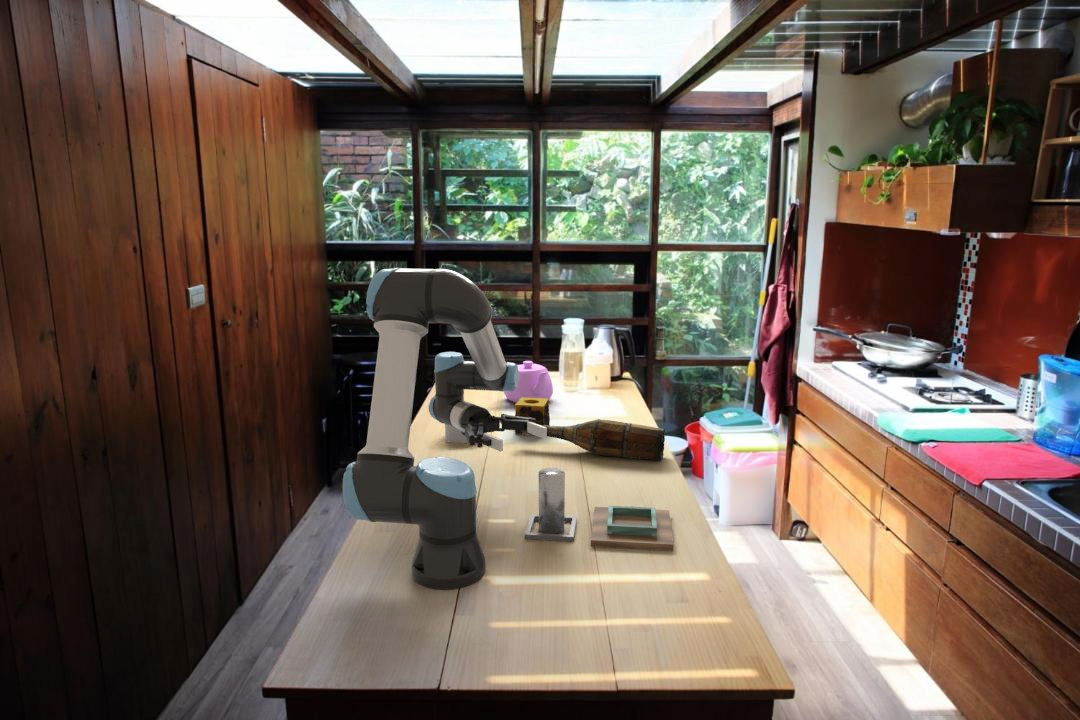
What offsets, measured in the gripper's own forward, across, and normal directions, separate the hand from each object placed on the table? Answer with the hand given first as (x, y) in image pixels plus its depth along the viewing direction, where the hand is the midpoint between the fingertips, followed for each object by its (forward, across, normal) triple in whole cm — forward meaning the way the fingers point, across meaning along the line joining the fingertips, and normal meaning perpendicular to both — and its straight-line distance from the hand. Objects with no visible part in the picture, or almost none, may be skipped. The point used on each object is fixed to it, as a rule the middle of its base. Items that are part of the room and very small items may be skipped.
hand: (524, 439), depth 174 cm
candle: (-49, -45, -20) cm, 70 cm away
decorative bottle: (-21, -44, -20) cm, 52 cm away
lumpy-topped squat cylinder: (-58, -24, -20) cm, 66 cm away
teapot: (-78, -68, -21) cm, 105 cm away
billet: (+10, 0, -19) cm, 22 cm away
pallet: (+23, -13, -19) cm, 33 cm away
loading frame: (+10, 0, -19) cm, 22 cm away
